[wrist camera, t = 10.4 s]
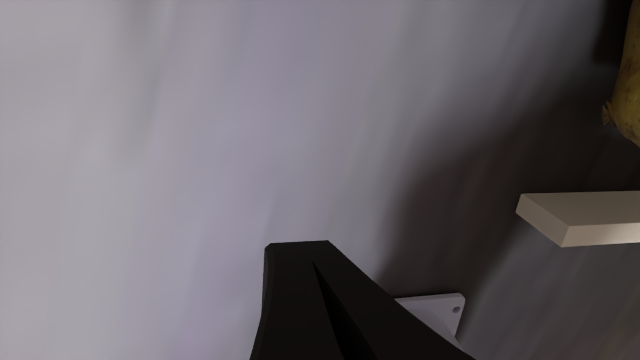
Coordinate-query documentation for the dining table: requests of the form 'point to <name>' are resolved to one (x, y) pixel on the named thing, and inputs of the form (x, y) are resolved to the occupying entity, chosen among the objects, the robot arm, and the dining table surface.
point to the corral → (584, 216)
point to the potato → (627, 83)
